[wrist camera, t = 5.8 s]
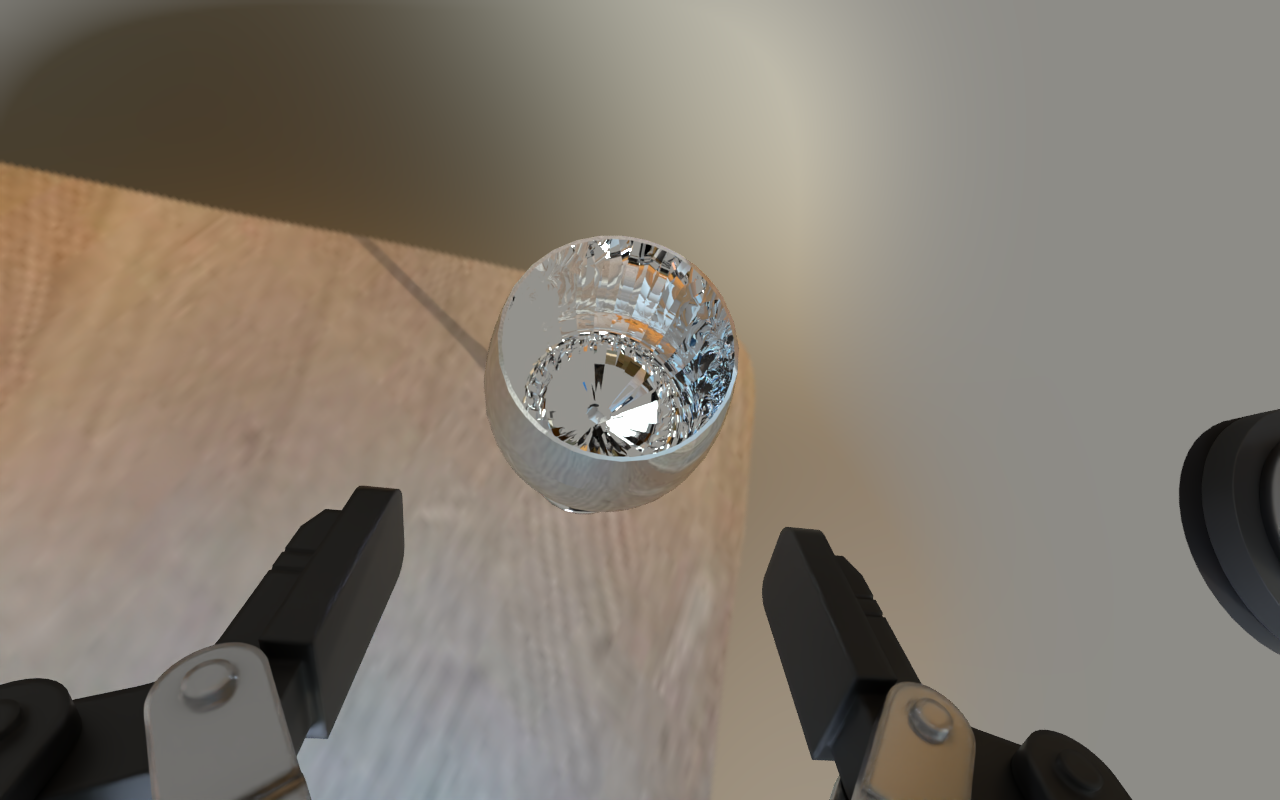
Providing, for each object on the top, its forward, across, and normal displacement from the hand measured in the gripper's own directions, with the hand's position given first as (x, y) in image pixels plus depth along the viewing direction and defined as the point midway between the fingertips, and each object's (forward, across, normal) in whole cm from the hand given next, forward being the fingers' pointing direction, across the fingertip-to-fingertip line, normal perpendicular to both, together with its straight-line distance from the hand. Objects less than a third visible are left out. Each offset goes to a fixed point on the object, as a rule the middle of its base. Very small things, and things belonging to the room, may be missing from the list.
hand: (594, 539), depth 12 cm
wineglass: (+10, 0, +4) cm, 10 cm away
